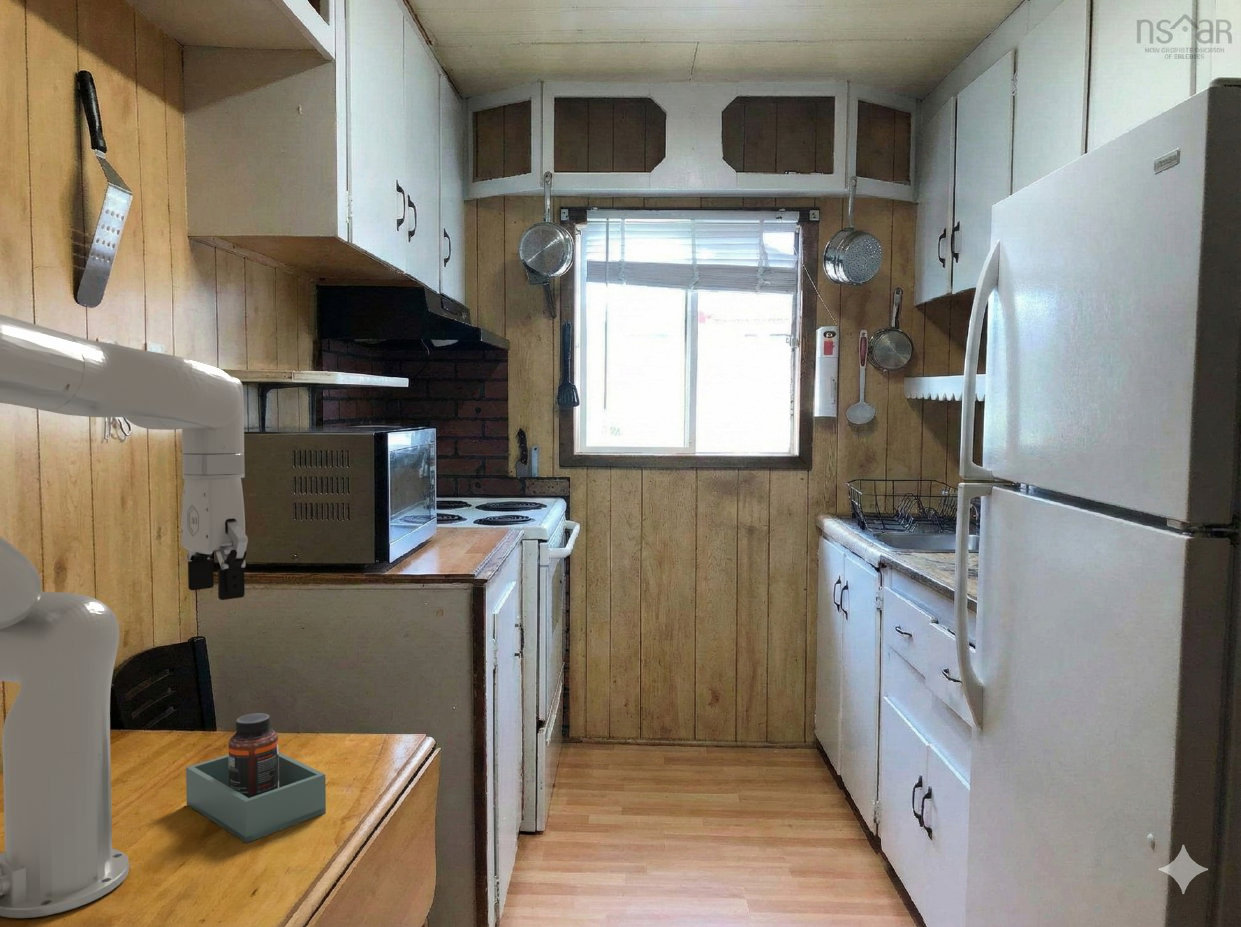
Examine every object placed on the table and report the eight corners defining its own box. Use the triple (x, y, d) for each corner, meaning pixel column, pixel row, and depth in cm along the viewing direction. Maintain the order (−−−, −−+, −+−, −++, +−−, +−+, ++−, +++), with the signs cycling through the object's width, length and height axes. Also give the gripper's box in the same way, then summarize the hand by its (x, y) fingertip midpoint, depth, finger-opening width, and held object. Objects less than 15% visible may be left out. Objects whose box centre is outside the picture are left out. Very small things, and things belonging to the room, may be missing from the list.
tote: (246, 843, 99) (245, 801, 99) (186, 805, 109) (186, 767, 109) (325, 812, 107) (325, 774, 107) (263, 779, 117) (262, 744, 117)
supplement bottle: (288, 795, 111) (287, 710, 110) (264, 815, 105) (263, 726, 104) (245, 793, 111) (244, 709, 111) (219, 813, 105) (218, 724, 105)
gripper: (159, 466, 115) (162, 589, 116) (211, 470, 104) (214, 607, 104) (215, 464, 121) (217, 582, 121) (271, 468, 109) (272, 598, 110)
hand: (215, 593), depth 113 cm, fingers open, 9 cm apart
